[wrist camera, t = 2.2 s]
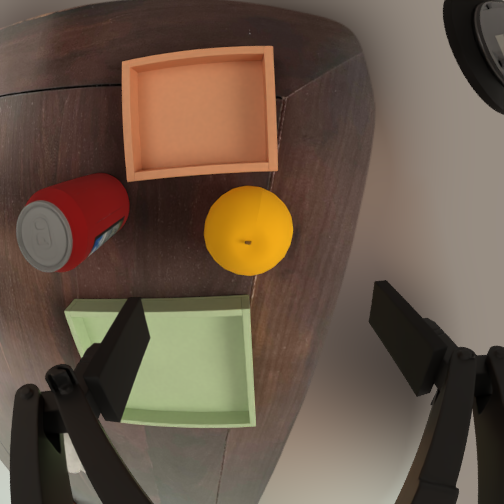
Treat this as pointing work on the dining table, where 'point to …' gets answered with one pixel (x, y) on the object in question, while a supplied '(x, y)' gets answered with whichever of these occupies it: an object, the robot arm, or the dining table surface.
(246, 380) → the fruit tray
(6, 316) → the dining table surface
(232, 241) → the orange
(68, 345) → the dining table surface
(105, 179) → the beverage can
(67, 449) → the candle
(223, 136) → the drink tray
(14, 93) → the dining table surface
